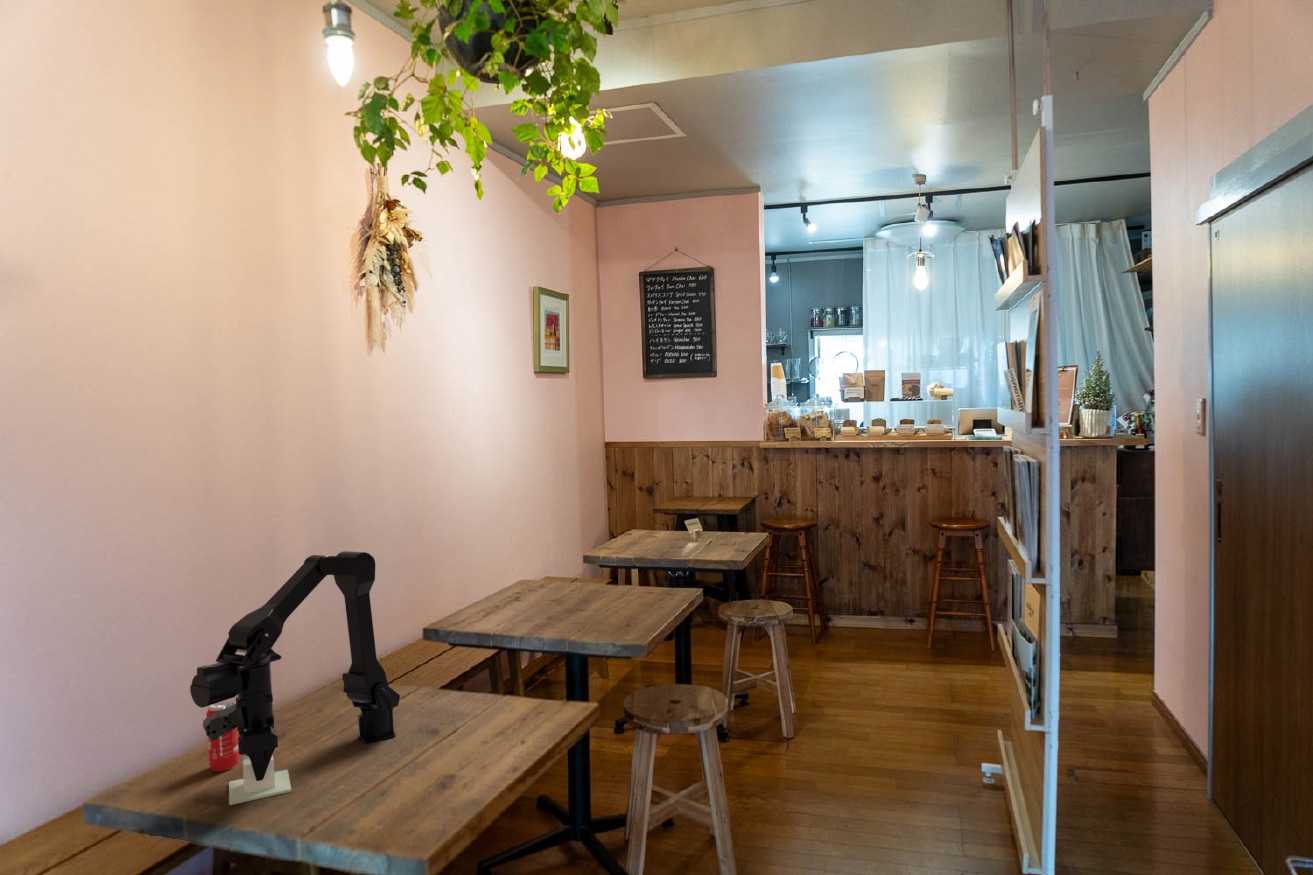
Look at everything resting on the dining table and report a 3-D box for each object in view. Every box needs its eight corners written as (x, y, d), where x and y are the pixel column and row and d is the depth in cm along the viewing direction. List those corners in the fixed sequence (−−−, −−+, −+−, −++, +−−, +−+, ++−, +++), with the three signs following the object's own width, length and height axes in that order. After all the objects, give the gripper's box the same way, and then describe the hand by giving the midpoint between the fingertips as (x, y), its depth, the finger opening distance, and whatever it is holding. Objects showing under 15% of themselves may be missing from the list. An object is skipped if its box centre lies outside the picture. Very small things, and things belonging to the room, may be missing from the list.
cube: (273, 777, 156) (272, 750, 156) (275, 786, 152) (273, 759, 152) (244, 783, 154) (242, 756, 154) (244, 793, 149) (243, 765, 149)
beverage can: (226, 772, 160) (223, 710, 160) (203, 771, 161) (200, 710, 161) (245, 761, 165) (242, 701, 165) (222, 760, 166) (219, 701, 166)
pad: (287, 771, 159) (287, 769, 159) (291, 791, 151) (291, 788, 151) (229, 784, 155) (229, 781, 155) (229, 805, 146) (229, 802, 146)
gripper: (205, 684, 157) (210, 766, 157) (203, 713, 140) (208, 805, 141) (270, 674, 162) (275, 753, 162) (275, 700, 145) (280, 789, 146)
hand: (259, 774), depth 153 cm, fingers open, 6 cm apart
